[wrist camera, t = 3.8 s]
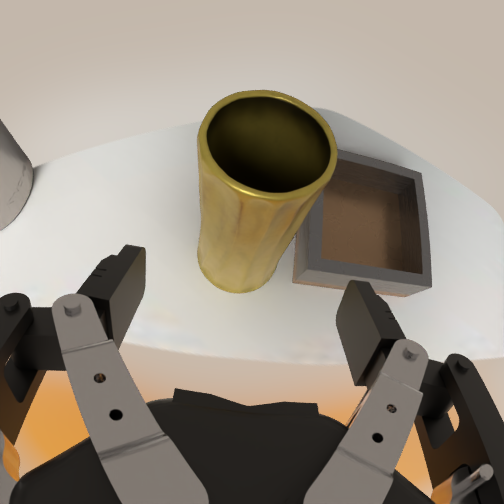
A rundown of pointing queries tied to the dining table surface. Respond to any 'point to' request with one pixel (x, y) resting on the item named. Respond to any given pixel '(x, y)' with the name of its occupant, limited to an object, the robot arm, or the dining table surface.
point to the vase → (257, 183)
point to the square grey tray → (366, 230)
